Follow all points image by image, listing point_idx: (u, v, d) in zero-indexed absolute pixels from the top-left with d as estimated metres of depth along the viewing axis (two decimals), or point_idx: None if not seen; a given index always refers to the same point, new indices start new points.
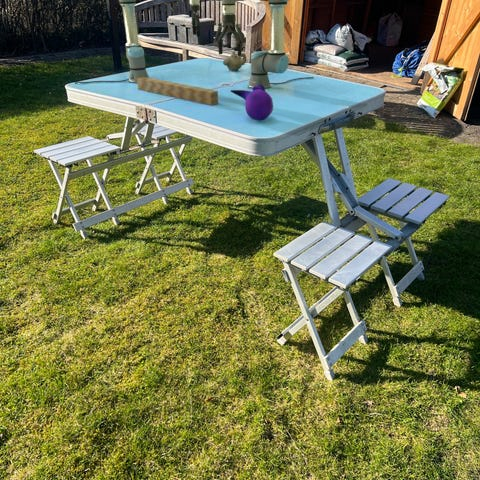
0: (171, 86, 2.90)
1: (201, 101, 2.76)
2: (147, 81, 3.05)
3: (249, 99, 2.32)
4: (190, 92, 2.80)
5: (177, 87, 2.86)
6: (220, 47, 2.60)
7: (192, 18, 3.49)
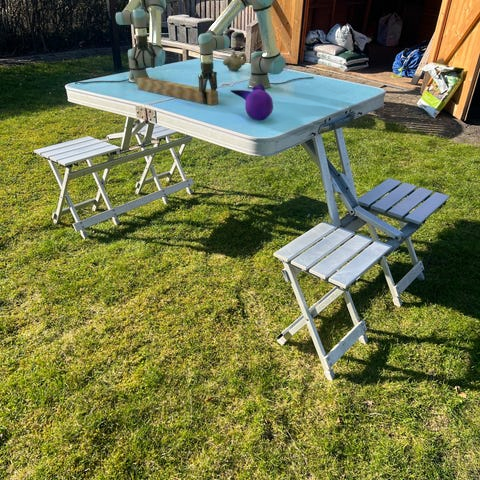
0: (171, 86, 2.90)
1: (201, 101, 2.76)
2: (147, 81, 3.05)
3: (249, 99, 2.32)
4: (190, 92, 2.80)
5: (177, 87, 2.86)
6: None
7: (150, 49, 3.08)
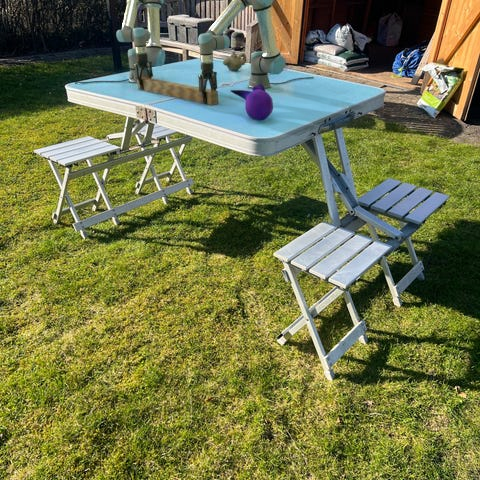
0: (171, 86, 2.90)
1: (201, 101, 2.76)
2: (147, 81, 3.05)
3: (249, 99, 2.32)
4: (190, 92, 2.80)
5: (177, 87, 2.86)
6: None
7: None
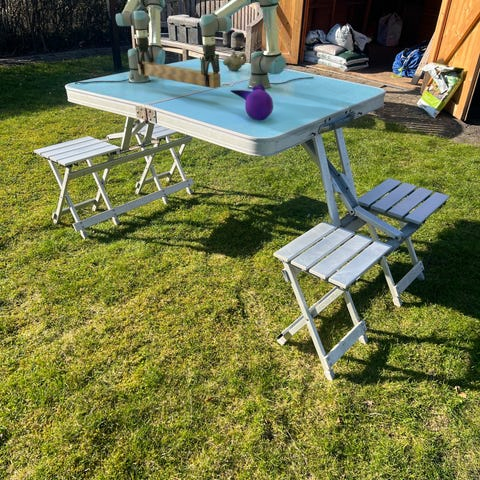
0: (172, 70, 2.85)
1: (203, 84, 2.72)
2: (148, 65, 3.00)
3: (249, 99, 2.32)
4: (192, 76, 2.76)
5: (179, 71, 2.82)
6: None
7: (149, 53, 3.07)
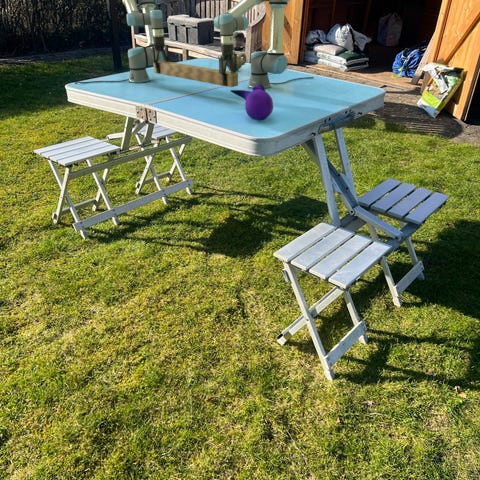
0: (189, 69, 2.88)
1: (221, 83, 2.74)
2: (164, 64, 3.02)
3: (249, 99, 2.32)
4: (209, 75, 2.78)
5: (196, 70, 2.84)
6: None
7: (165, 52, 3.09)
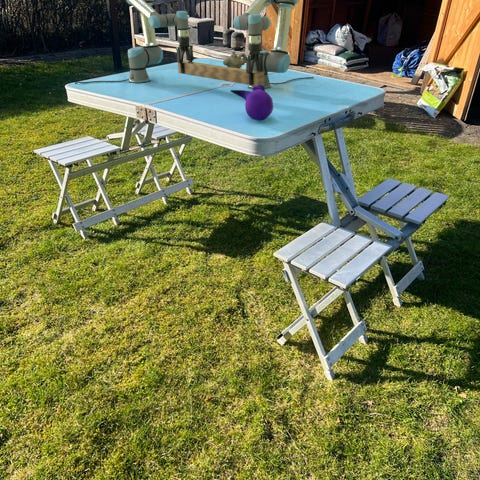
0: (215, 69, 2.92)
1: (247, 82, 2.78)
2: (189, 64, 3.07)
3: (249, 99, 2.32)
4: (235, 74, 2.82)
5: (221, 69, 2.88)
6: None
7: (189, 52, 3.13)
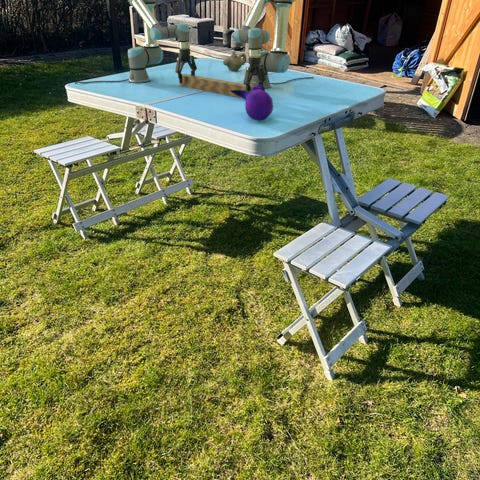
0: (216, 83, 2.96)
1: None
2: (190, 78, 3.11)
3: (249, 99, 2.32)
4: (235, 89, 2.86)
5: (222, 84, 2.93)
6: None
7: (191, 62, 3.17)
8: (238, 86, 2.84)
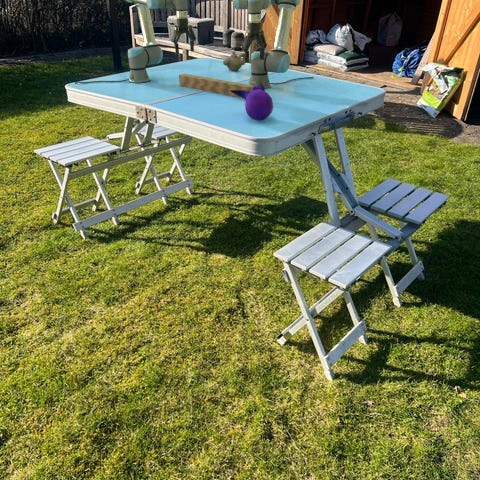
0: (216, 83, 2.96)
1: None
2: (190, 78, 3.11)
3: (249, 99, 2.32)
4: (235, 89, 2.86)
5: (222, 84, 2.93)
6: None
7: (190, 32, 3.08)
8: (238, 86, 2.84)
